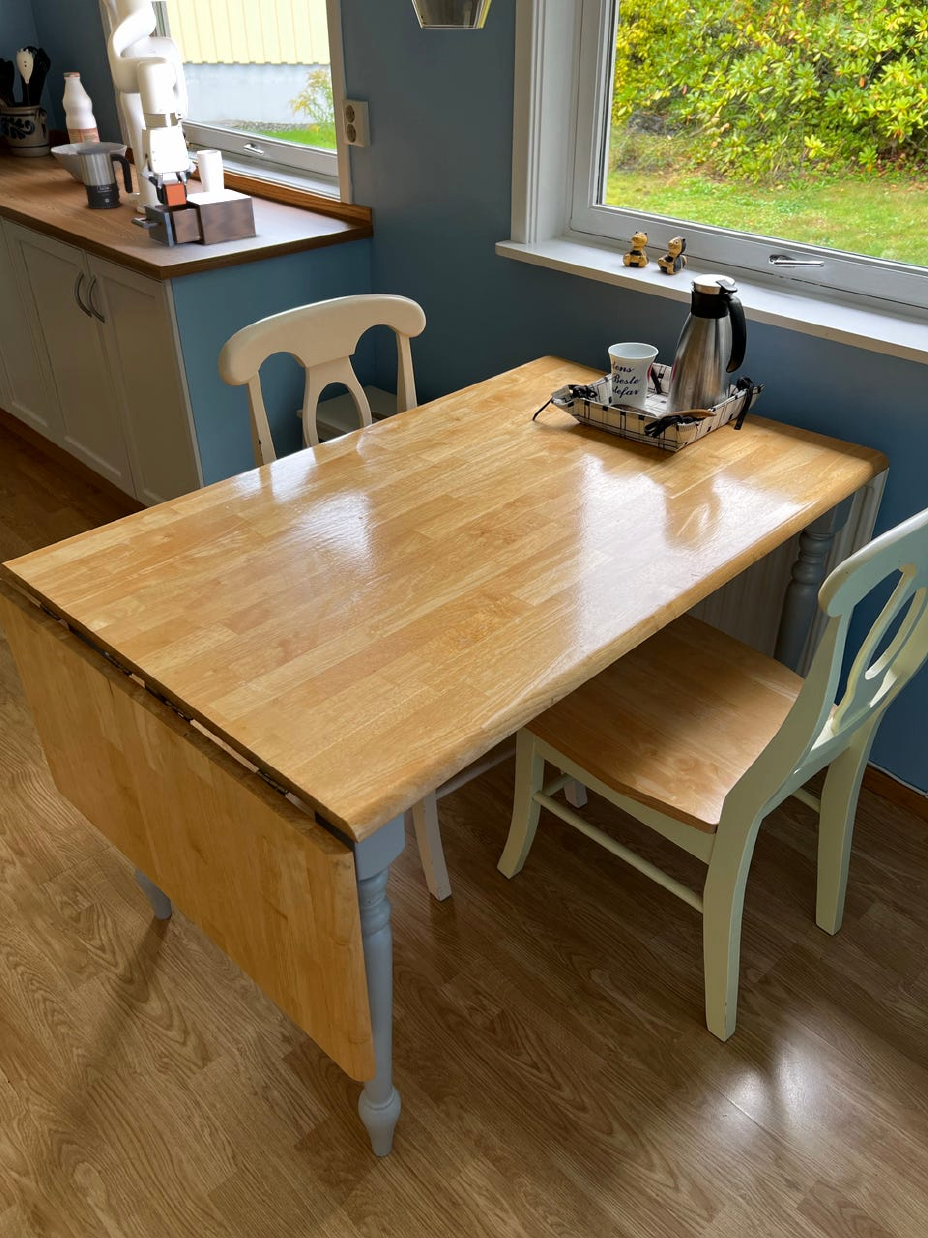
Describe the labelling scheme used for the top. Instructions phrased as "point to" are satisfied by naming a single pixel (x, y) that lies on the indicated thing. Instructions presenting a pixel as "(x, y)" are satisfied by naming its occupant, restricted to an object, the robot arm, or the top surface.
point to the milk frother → (103, 176)
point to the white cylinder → (210, 170)
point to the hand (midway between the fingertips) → (173, 201)
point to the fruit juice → (78, 111)
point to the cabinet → (224, 216)
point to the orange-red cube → (174, 192)
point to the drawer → (171, 223)
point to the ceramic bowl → (71, 158)
